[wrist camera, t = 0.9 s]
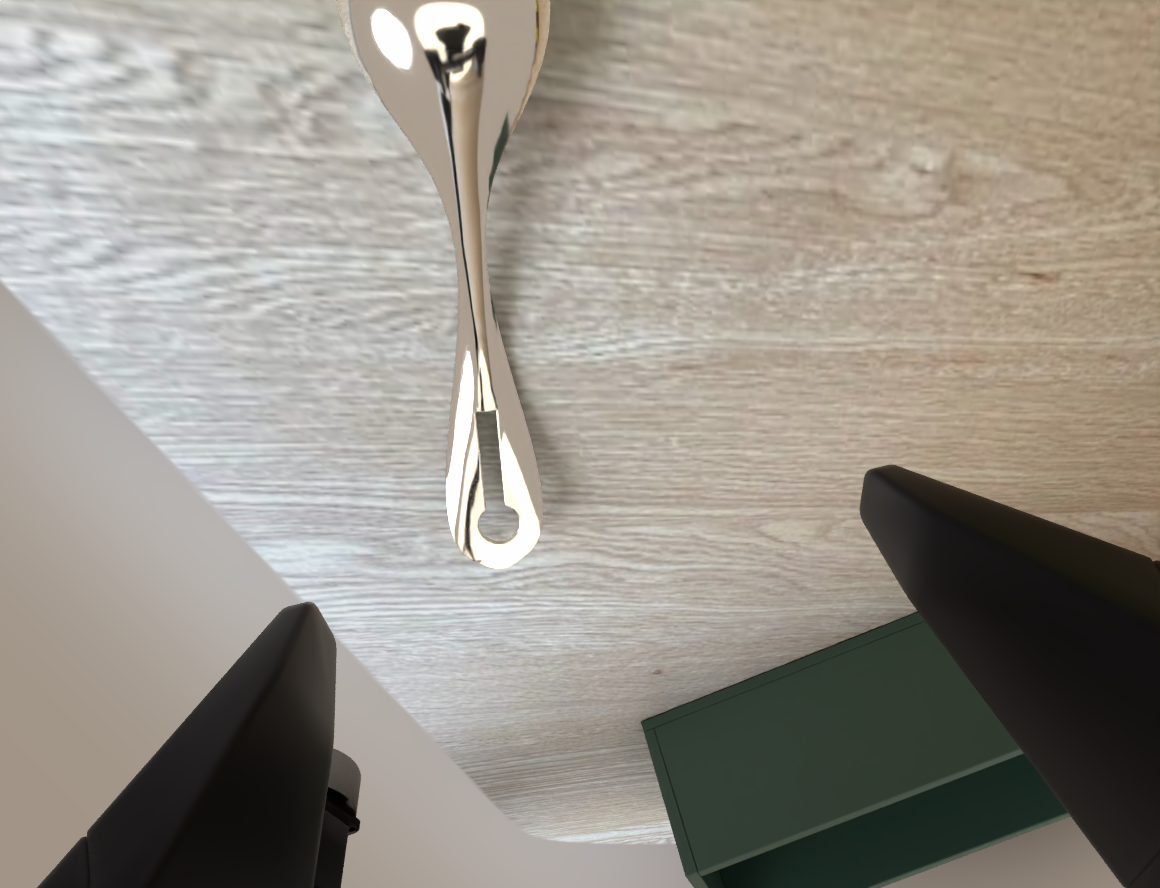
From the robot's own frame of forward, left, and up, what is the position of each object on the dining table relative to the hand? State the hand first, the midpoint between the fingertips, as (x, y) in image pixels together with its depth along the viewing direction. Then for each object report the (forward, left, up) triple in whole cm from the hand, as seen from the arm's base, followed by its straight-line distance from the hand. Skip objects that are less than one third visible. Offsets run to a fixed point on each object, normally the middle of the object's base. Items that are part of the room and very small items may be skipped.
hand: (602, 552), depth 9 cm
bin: (+8, -29, -12) cm, 33 cm away
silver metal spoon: (-1, +1, -12) cm, 12 cm away
